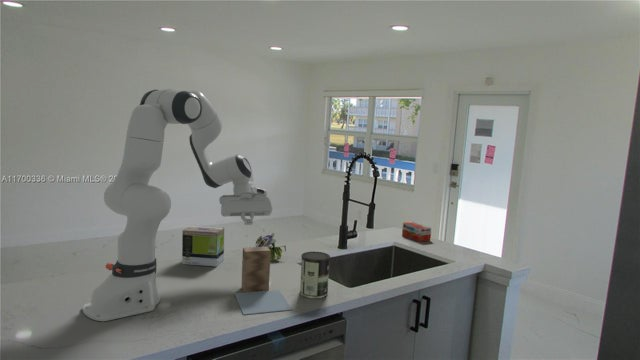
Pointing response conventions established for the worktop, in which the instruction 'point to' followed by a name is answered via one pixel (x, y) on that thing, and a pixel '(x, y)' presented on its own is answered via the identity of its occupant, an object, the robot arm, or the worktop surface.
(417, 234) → the medicine box
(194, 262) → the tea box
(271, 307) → the mat
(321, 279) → the coffee can
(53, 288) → the worktop surface
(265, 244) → the passion flower
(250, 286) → the cardboard box
